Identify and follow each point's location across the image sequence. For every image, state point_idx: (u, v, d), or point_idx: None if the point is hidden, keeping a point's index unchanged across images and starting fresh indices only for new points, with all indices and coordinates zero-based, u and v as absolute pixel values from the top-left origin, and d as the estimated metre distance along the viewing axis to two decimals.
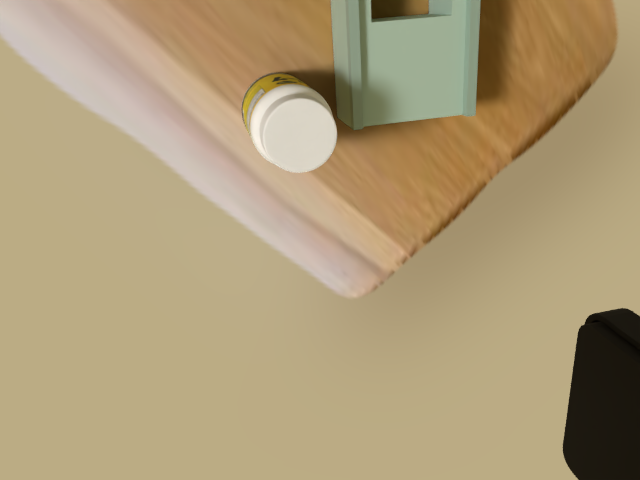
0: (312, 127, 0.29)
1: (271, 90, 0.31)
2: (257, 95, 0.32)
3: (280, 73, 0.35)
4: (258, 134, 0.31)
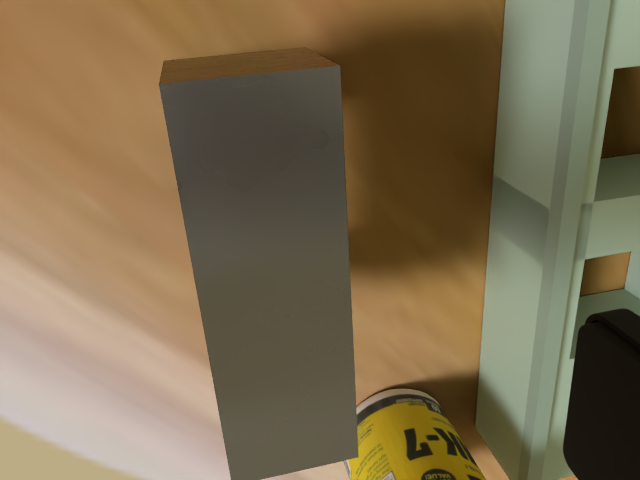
0: None
1: None
2: None
3: (404, 397, 0.23)
4: None
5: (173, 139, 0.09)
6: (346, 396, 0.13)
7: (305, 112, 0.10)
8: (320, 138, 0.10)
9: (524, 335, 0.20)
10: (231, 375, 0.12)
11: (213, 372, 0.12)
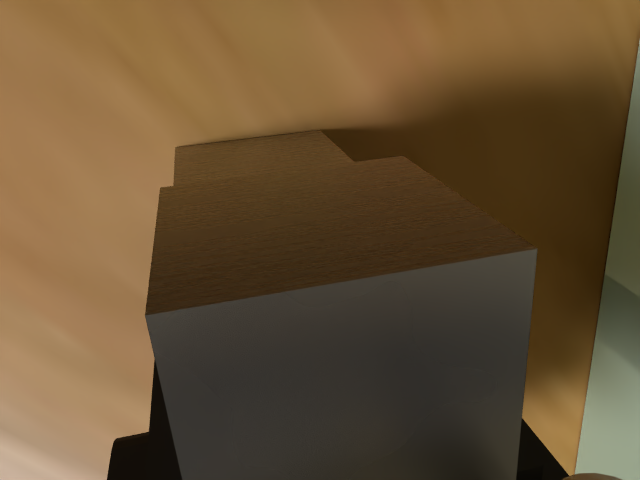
0: None
1: None
2: None
3: None
4: None
5: (177, 419, 0.04)
6: None
7: (455, 341, 0.05)
8: (481, 385, 0.05)
9: None
10: None
11: None
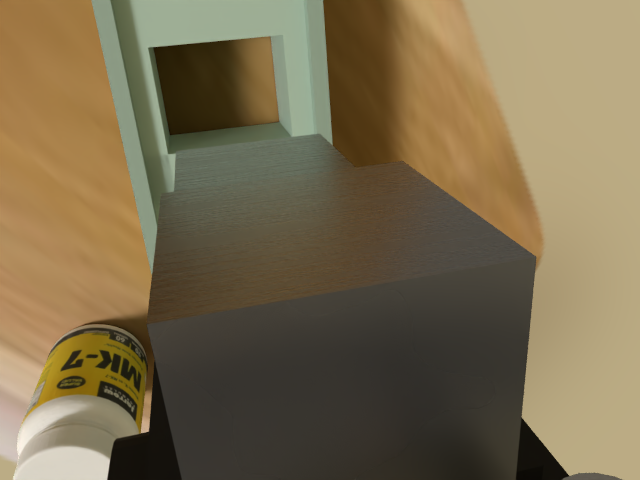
0: (84, 475, 0.21)
1: (41, 406, 0.22)
2: (35, 395, 0.24)
3: (92, 329, 0.27)
4: None
5: (179, 426, 0.04)
6: None
7: (456, 349, 0.05)
8: (479, 391, 0.05)
9: None
10: None
11: None
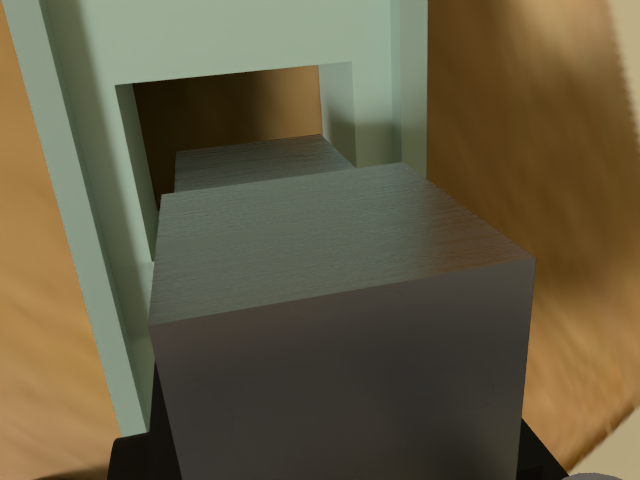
0: None
1: None
2: None
3: None
4: None
5: (180, 427, 0.04)
6: None
7: (456, 350, 0.05)
8: (480, 392, 0.05)
9: None
10: None
11: None
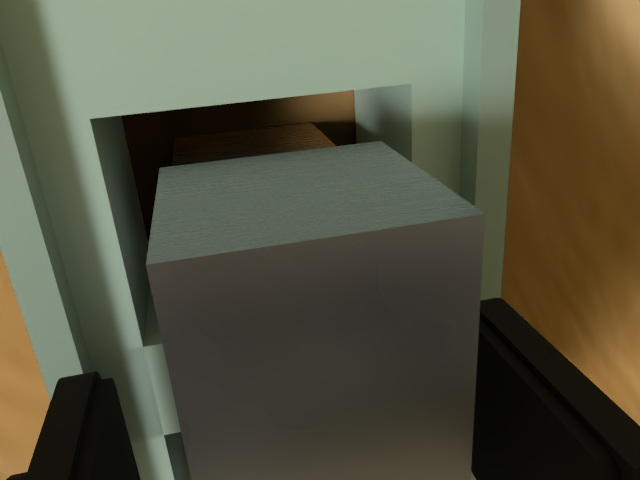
0: None
1: None
2: None
3: None
4: None
5: (173, 357, 0.05)
6: None
7: (415, 295, 0.05)
8: (439, 334, 0.06)
9: None
10: None
11: None
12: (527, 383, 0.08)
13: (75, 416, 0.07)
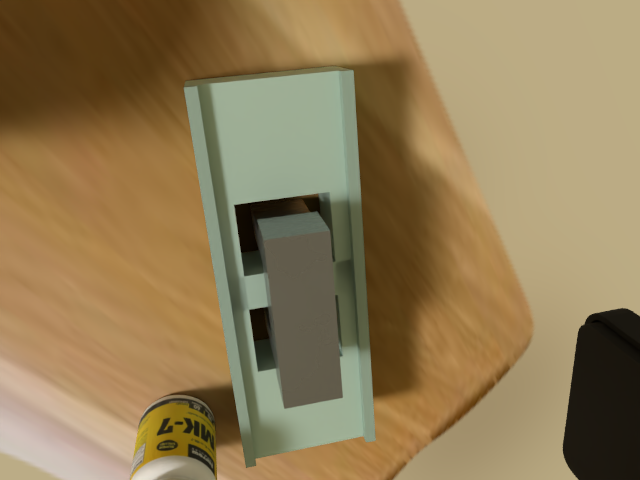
0: None
1: (147, 464, 0.30)
2: (139, 455, 0.31)
3: (175, 400, 0.35)
4: None
5: (267, 259, 0.25)
6: (336, 366, 0.28)
7: (316, 247, 0.25)
8: (323, 257, 0.26)
9: None
10: (285, 354, 0.27)
11: (278, 352, 0.27)
12: None
13: None
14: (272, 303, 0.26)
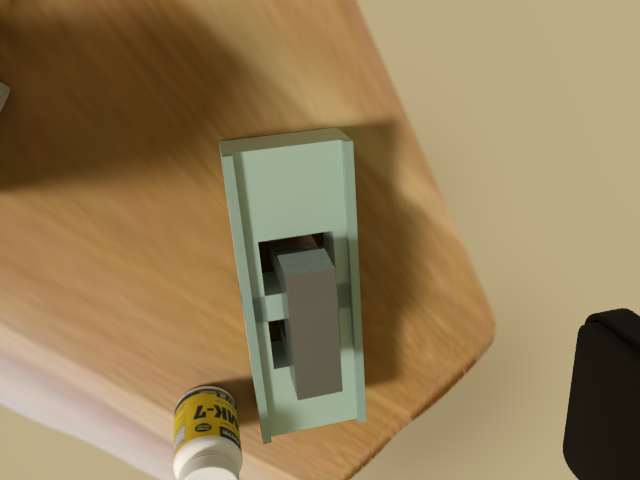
0: None
1: (188, 442, 0.38)
2: (180, 435, 0.40)
3: (205, 390, 0.43)
4: (178, 476, 0.38)
5: (287, 290, 0.33)
6: (338, 368, 0.36)
7: (325, 280, 0.33)
8: (329, 287, 0.34)
9: (250, 357, 0.40)
10: (299, 360, 0.35)
11: (294, 358, 0.35)
12: None
13: None
14: (290, 322, 0.34)
